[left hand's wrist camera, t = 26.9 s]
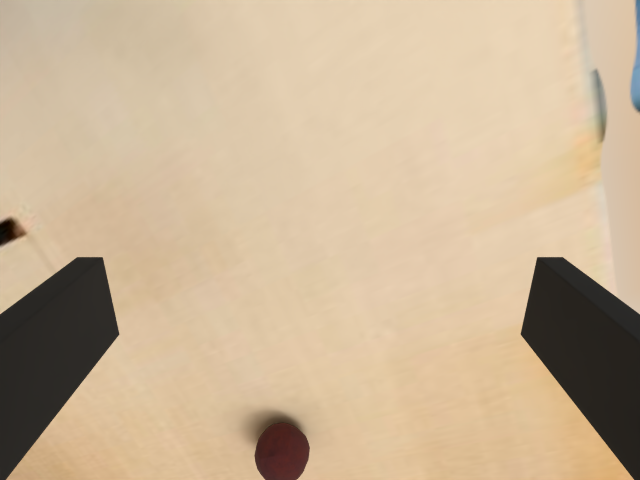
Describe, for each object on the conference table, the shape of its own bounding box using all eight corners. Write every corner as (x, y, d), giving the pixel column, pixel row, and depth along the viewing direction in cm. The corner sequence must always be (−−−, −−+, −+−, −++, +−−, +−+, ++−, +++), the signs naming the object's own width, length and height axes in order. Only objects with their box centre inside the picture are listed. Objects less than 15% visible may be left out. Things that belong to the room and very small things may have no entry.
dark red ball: (271, 456, 61) (265, 502, 54) (250, 419, 58) (241, 462, 51) (317, 444, 60) (317, 489, 53) (298, 405, 57) (295, 448, 50)
